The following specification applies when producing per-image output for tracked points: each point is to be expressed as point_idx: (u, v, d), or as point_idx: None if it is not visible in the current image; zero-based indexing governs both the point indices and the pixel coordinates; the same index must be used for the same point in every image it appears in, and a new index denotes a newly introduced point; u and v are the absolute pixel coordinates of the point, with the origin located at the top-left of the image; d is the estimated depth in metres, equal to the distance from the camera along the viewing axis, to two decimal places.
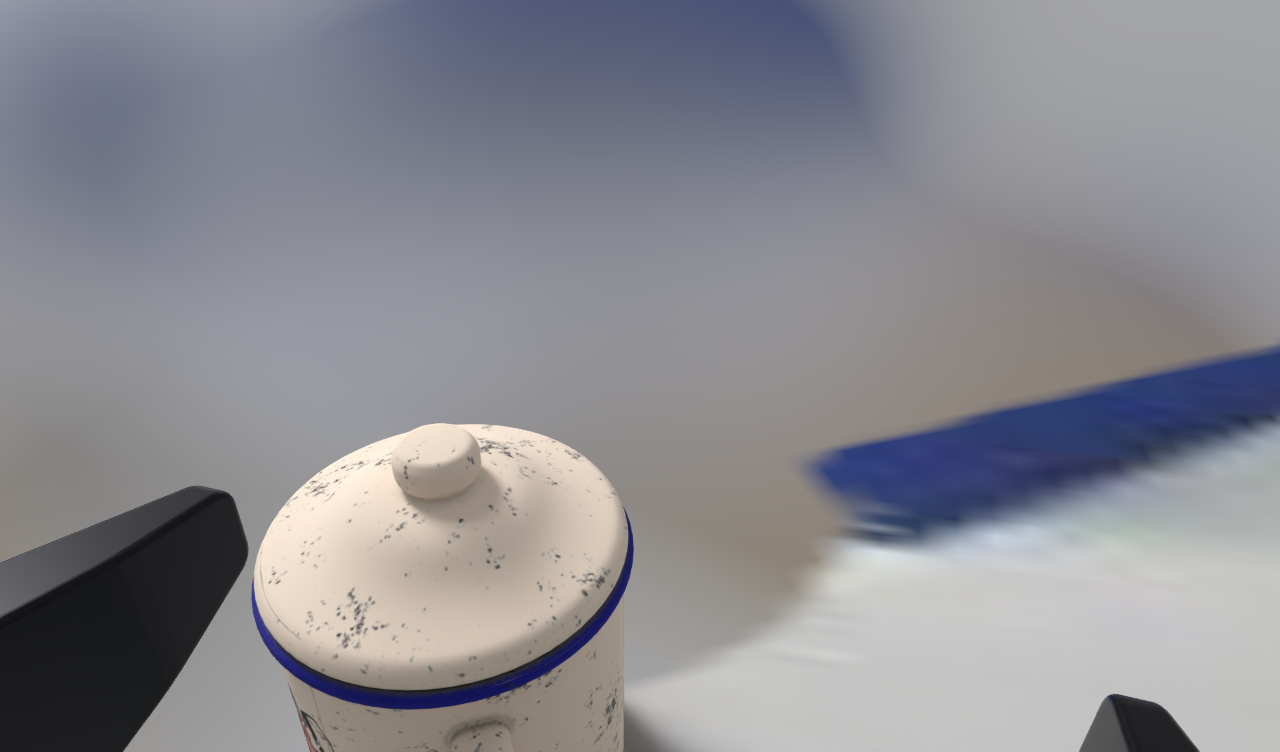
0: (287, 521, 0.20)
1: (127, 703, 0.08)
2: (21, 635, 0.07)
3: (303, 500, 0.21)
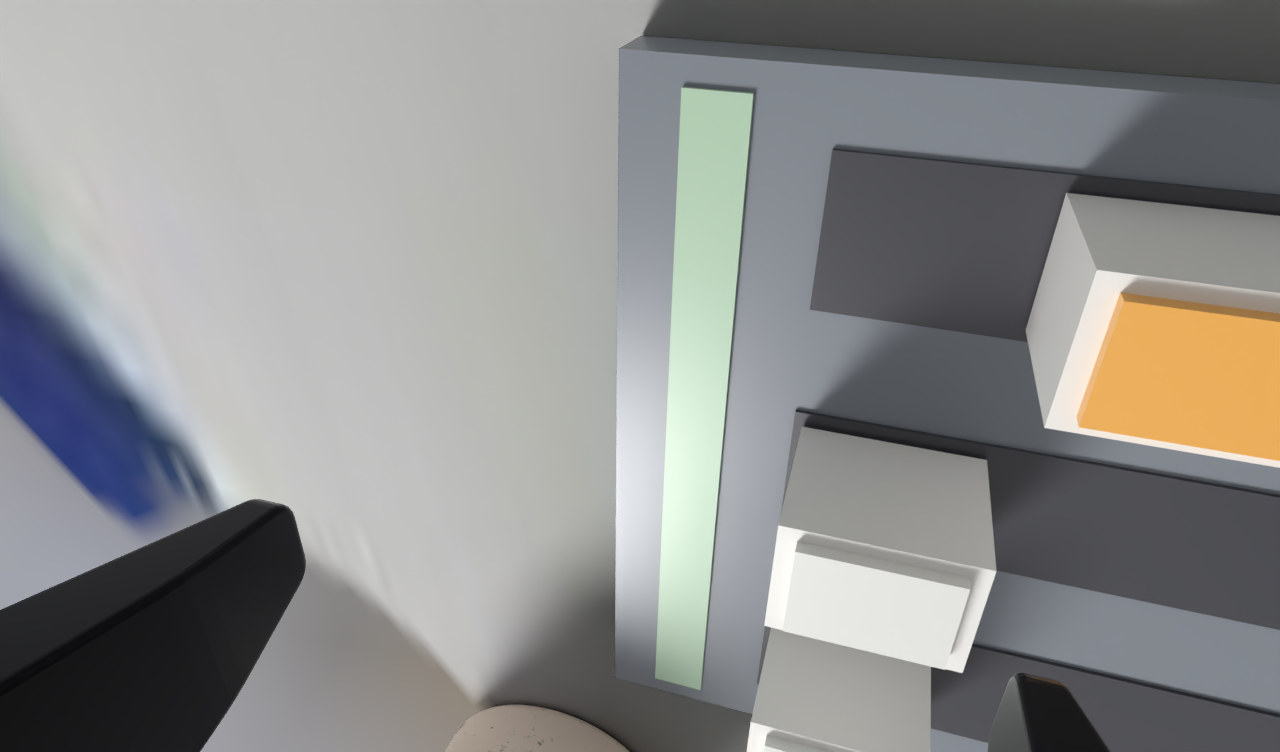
0: None
1: (192, 723, 0.08)
2: (93, 656, 0.07)
3: None
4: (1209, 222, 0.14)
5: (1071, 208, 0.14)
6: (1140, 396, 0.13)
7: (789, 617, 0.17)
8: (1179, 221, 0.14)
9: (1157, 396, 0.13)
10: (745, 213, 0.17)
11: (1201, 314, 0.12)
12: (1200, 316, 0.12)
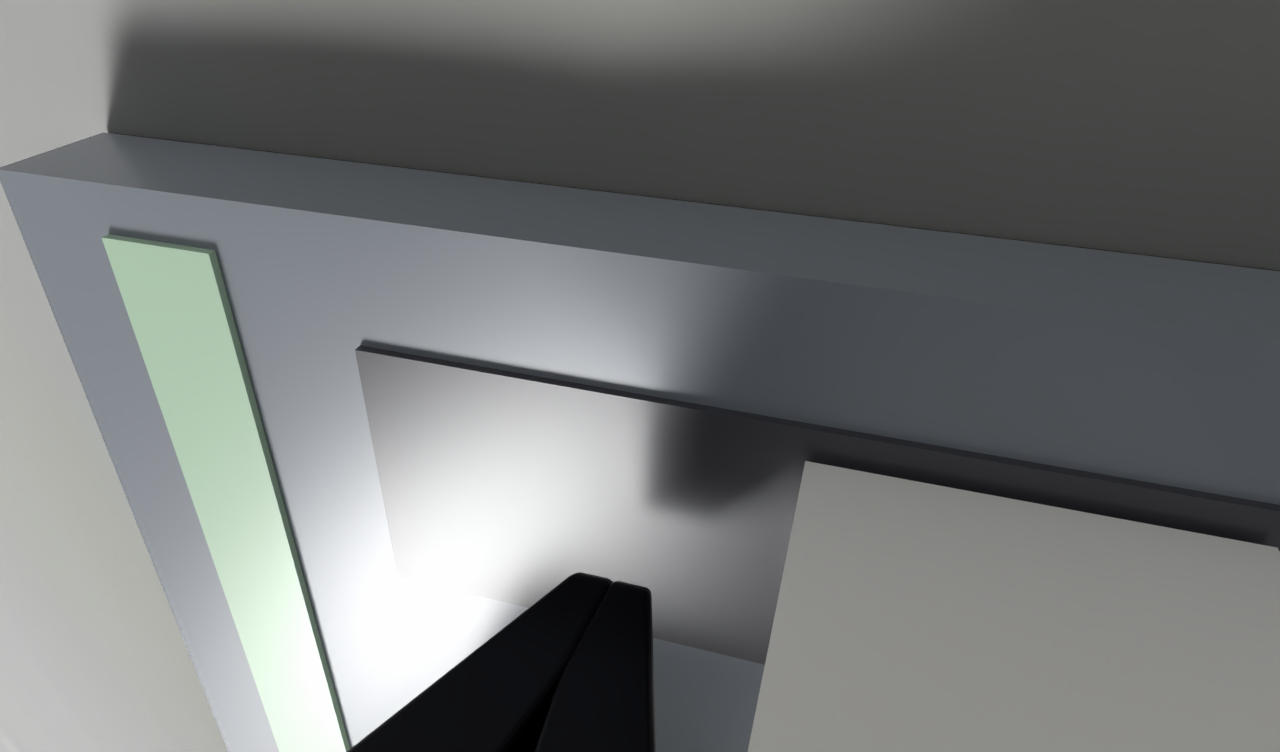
0: None
1: None
2: None
3: None
4: (1050, 561, 0.07)
5: None
6: None
7: None
8: (991, 561, 0.07)
9: None
10: (264, 432, 0.10)
11: None
12: None
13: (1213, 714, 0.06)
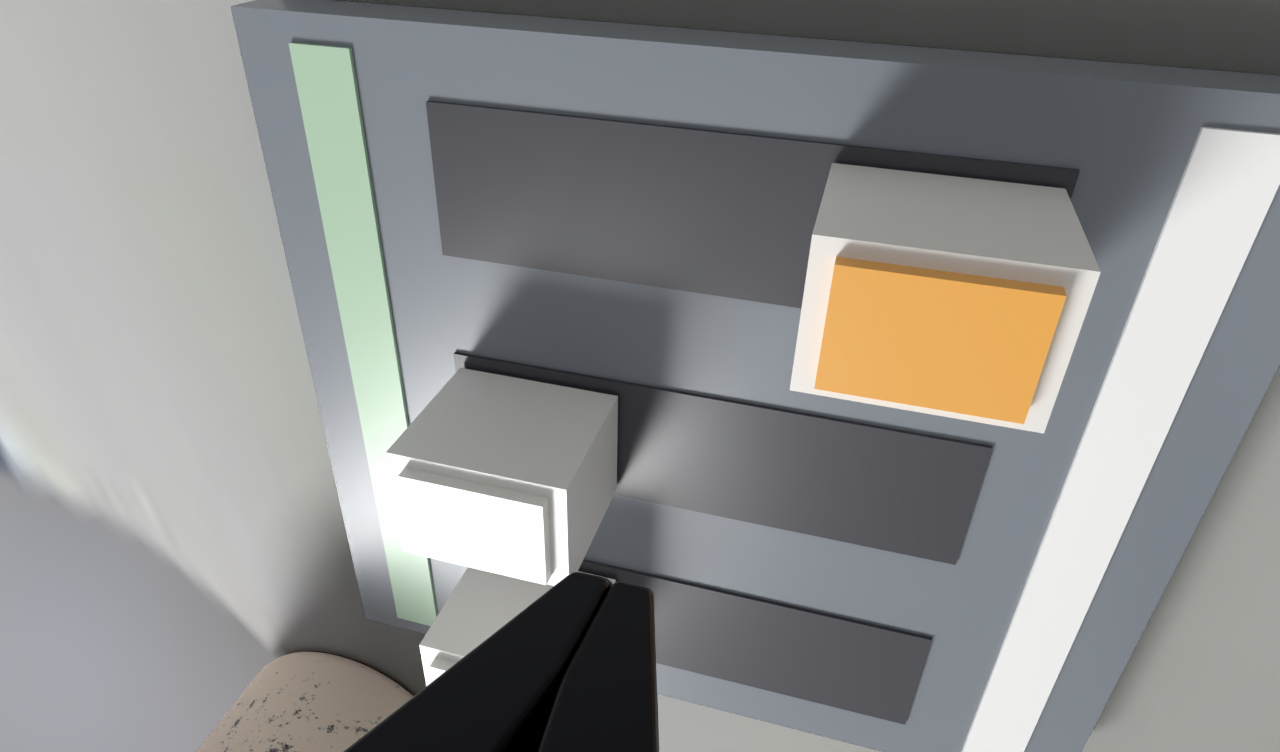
0: None
1: None
2: None
3: None
4: (953, 189, 0.14)
5: (828, 177, 0.15)
6: (863, 357, 0.13)
7: (411, 539, 0.18)
8: (924, 189, 0.14)
9: (878, 357, 0.13)
10: (369, 163, 0.18)
11: (905, 276, 0.12)
12: (903, 279, 0.12)
13: (1015, 223, 0.13)
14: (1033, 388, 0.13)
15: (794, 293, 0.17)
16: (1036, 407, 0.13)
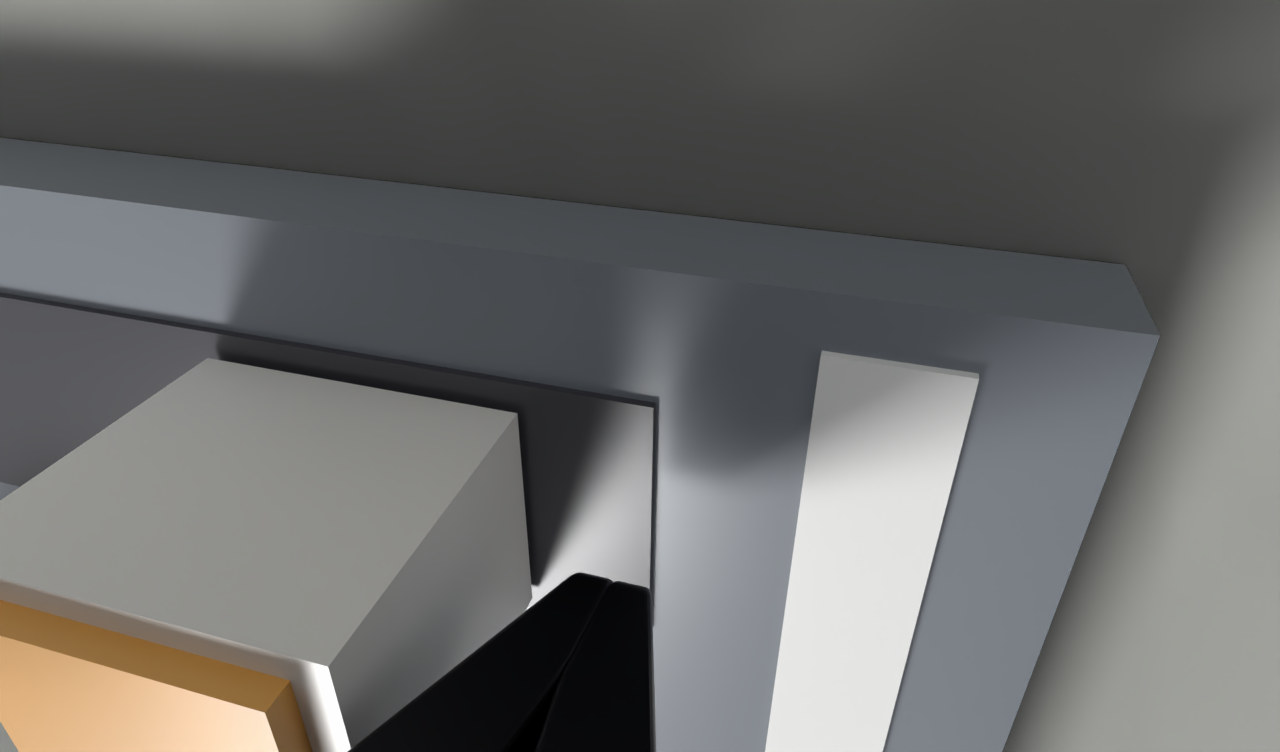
0: None
1: None
2: None
3: None
4: (323, 422, 0.09)
5: (160, 393, 0.09)
6: (63, 748, 0.08)
7: None
8: (276, 421, 0.09)
9: (80, 751, 0.08)
10: None
11: (42, 645, 0.07)
12: (34, 651, 0.07)
13: (329, 512, 0.08)
14: None
15: None
16: None
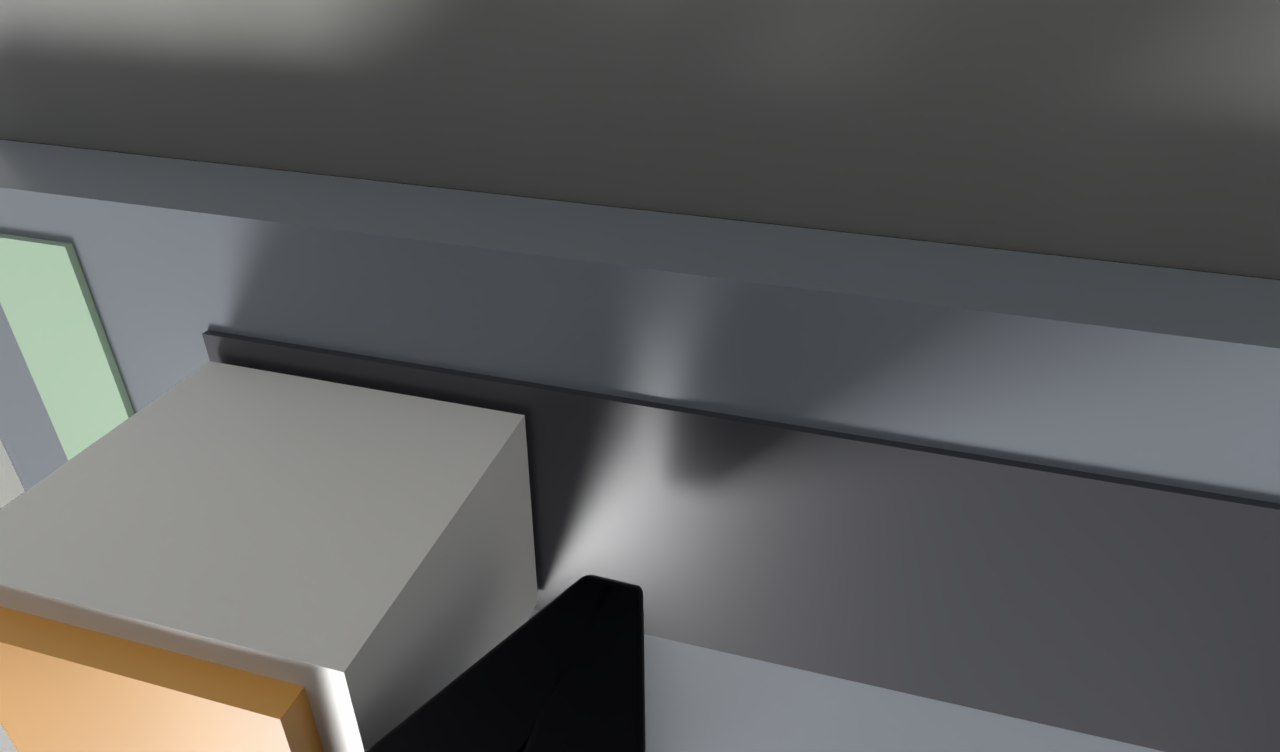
0: None
1: None
2: None
3: None
4: (329, 425, 0.09)
5: (162, 396, 0.09)
6: None
7: None
8: (281, 425, 0.09)
9: None
10: None
11: (50, 654, 0.07)
12: (42, 660, 0.07)
13: (338, 516, 0.08)
14: None
15: (846, 657, 0.10)
16: None
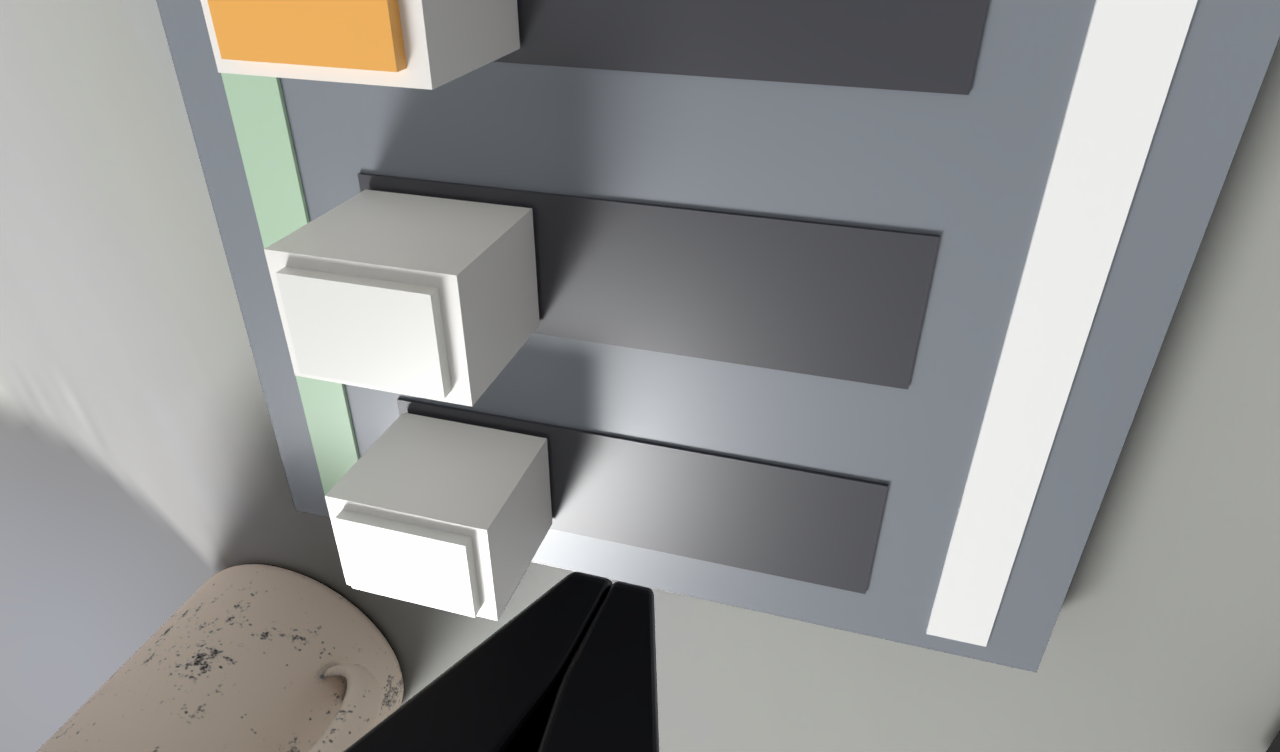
0: None
1: None
2: None
3: None
4: None
5: None
6: (245, 13, 0.13)
7: (299, 355, 0.17)
8: None
9: (257, 11, 0.13)
10: None
11: None
12: None
13: None
14: (390, 27, 0.13)
15: (713, 61, 0.15)
16: (414, 59, 0.13)
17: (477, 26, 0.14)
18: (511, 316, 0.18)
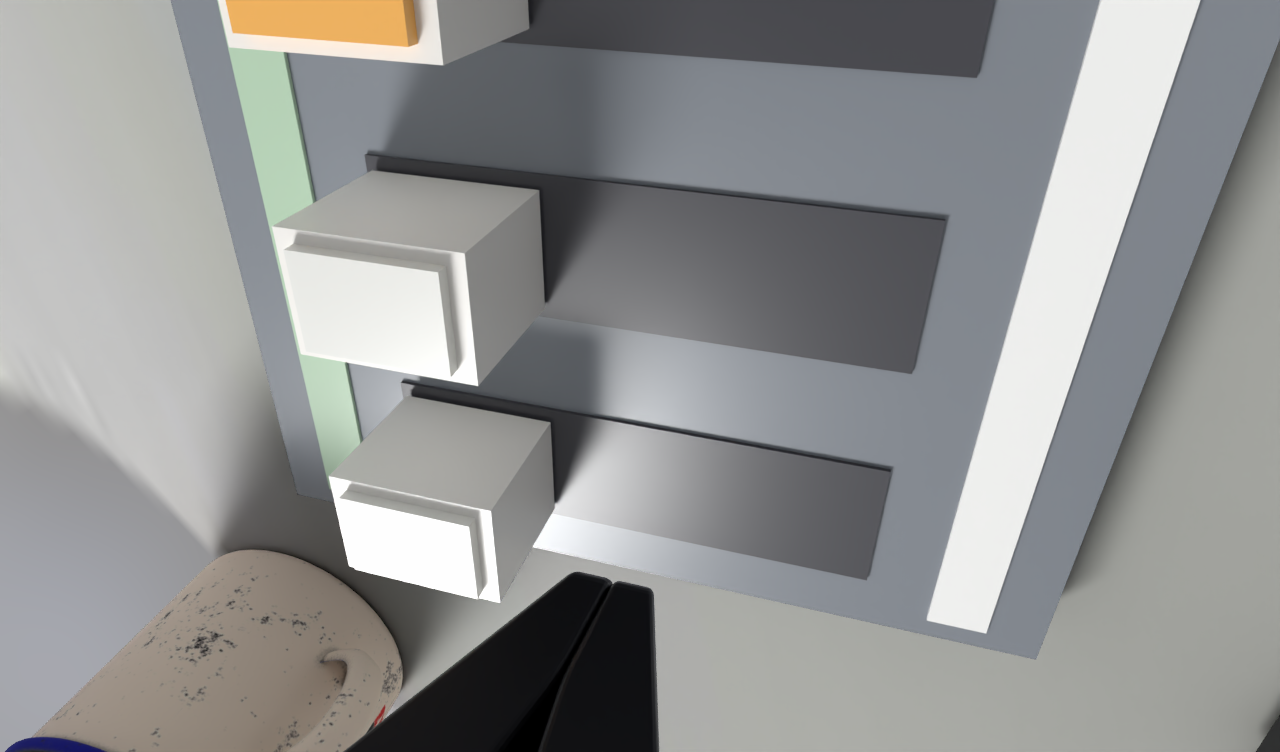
0: None
1: None
2: None
3: None
4: None
5: None
6: None
7: (305, 333, 0.17)
8: None
9: None
10: None
11: None
12: None
13: None
14: (402, 2, 0.13)
15: (721, 43, 0.15)
16: (426, 34, 0.13)
17: (488, 4, 0.14)
18: (517, 297, 0.18)
